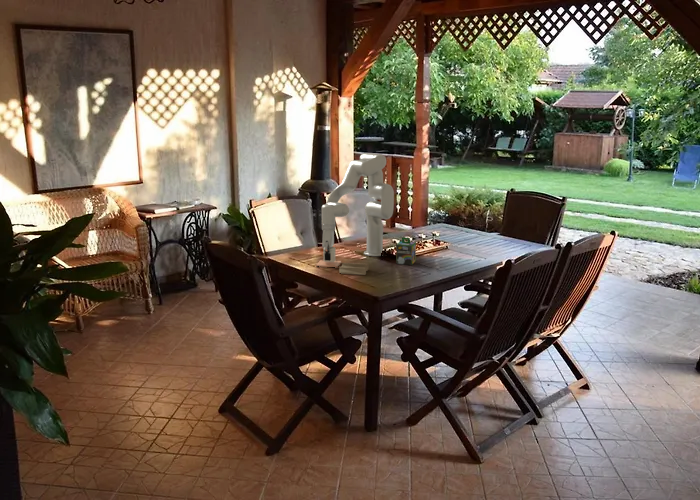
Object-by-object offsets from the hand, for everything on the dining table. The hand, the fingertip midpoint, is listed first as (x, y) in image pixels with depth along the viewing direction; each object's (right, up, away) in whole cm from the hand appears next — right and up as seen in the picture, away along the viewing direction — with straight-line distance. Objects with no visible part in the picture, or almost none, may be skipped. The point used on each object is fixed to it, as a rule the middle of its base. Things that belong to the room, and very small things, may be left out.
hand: (328, 258), depth 361 cm
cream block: (0, -1, 0) cm, 1 cm away
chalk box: (+43, -3, +5) cm, 44 cm away
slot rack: (+14, -7, -14) cm, 21 cm away
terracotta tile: (0, -3, +1) cm, 4 cm away
